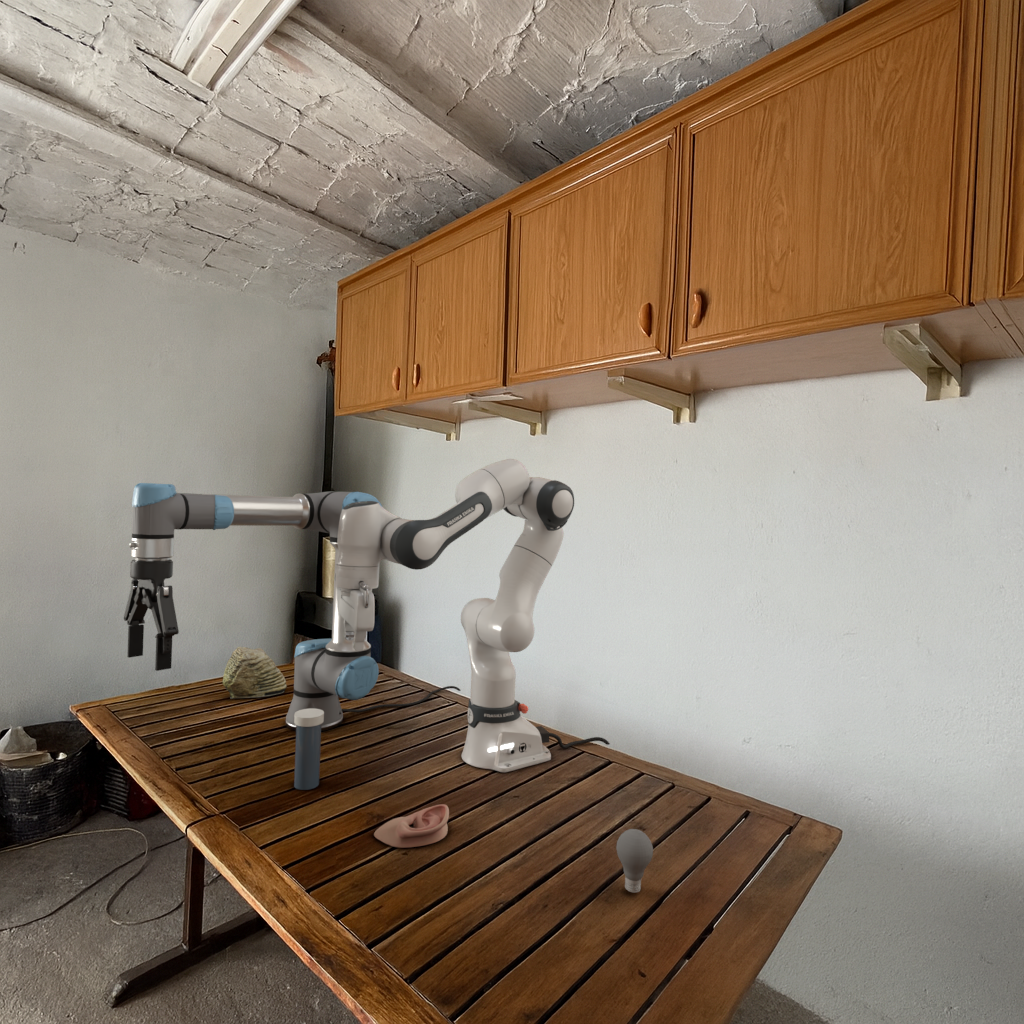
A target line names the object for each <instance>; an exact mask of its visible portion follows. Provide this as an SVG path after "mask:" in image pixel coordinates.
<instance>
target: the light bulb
mask: <svg viewBox="0 0 1024 1024" xmlns="http://www.w3.org/2000/svg"><path fill="white" fill-rule="evenodd" d="M615 849H616V854H617V857H618V859H619V861H620V863H621V865H622V867H623V873H624V874H623V875H624V876H625V878H624V888H625V890H627V891H628V892H630V893H634V894H635V893H639V892H640V891H641V889H642V887H641V886H642V879H643V877H644V875H645V871H646V868H647V867H648V866H649V864H650V863H651V861H652V859H653V855H654V847H653V843H652V841H651V838H649V836H648V835H647V834H646V833H645V832H643V831H642V830H641V829H636V828H629V829H627V830H625V831H623V832H622V833H621V834H620V835H619V837H618V839H617V841H616V847H615Z"/></svg>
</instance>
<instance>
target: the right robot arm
mask: <svg viewBox="0 0 1024 1024" xmlns="http://www.w3.org/2000/svg"><path fill="white" fill-rule="evenodd" d="M454 497H455V502H456V503H455V504H453V505H452V506H450V507H449V508H447V509H446V510H444V511H442V512H441V513H440V514H438V515H436V516H435V517H433V518H429V519H407V518H401V517H400V516H399V515H396V514H393V513H392V512H390V511H389V510H387V509H385V508H384V507H383V505H382V506H380V504H379V503H378V502H375V501H365V502H364V501H362V502H355V503H350V504H348V505H346V506H345V507H344V508H343V510H342V512H341V515H340V520H339V527H338V539H337V544H338V549H339V554H338V558H337V561H336V573H335V572H334V573H335V586H336V587H337V605H338V612H339V615H340V616H341V617H342V618H343V619H344V628H345V639H346V640H353V639H354V630H355V640H354V645H353V648H354V649H355V650H356V651H361V650H363V649H364V640H365V639H366V637H367V632H373V630H374V628H375V611H376V610H375V608H376V606H375V602H376V601H375V596H374V593H373V589H377V588H379V582H380V565H381V564H380V563H381V561H383V560H385V561H388V562H391V563H394V564H398V565H401V566H404V567H405V568H408V569H411V570H423V569H426V568H428V567H430V566H432V565H433V564H434V563H435V562H436V561H437V560H438V559H439V558H440V556H441V555H442V553H443V552H444V551H445V549H446V548H447V547H448V546H450V545H451V544H452V543H453V542H455V541H456V540H458V539H459V538H460V537H462V536H463V535H465V534H466V533H468V532H469V531H471V530H473V529H474V528H475V527H476V526H478V525H479V524H481V523H482V522H484V521H485V520H486V519H488V518H489V517H491V516H493V515H495V514H496V513H499V512H500V511H502V510H504V512H506V513H507V514H508V515H511V516H513V517H516V518H517V517H518V518H520V519H523V520H524V524H523V525H524V526H523V530H522V532H521V533H520V535H519V537H518V538H517V540H516V541H515V543H514V544H513V547H512V549H511V550H510V552H509V554H508V556H507V557H506V559H505V561H504V562H503V564H502V567H501V568H500V570H499V572H498V573H499V575H498V577H499V587H498V591H497V595H496V597H495V599H494V598H490V597H479V598H473V599H471V600H470V601H468V602H466V604H465V605H464V607H463V608H462V610H461V613H460V623H461V626H462V628H463V630H464V633H465V637H466V642H467V648H468V656H469V662H470V698H469V700H468V704H467V705H468V706H467V725H468V726H467V732H466V738H465V742H464V746H463V749H462V751H461V755H460V757H461V759H462V761H463V762H464V763H466V764H468V765H470V766H472V767H476V768H478V769H479V768H480V769H484V770H485V769H486V770H492V771H496V772H500V773H509V772H512V771H516V770H520V769H523V768H527V767H531V766H534V765H535V766H536V765H538V764H542V763H545V762H549V761H551V760H552V754H551V751H550V750H549V748H548V747H547V746H545V745H544V744H546V743H550V738H554V739H555V740H556V741H557V743H558V745H559V747H560V748H561V749H562V750H563V749H564V750H566V749H568V748H570V747H573V746H577V745H584V744H588V743H592V742H602V743H604V745H606V746H608V745H610V742H609V741H608V740H607V739H605V738H604V737H599V736H595V737H590V738H589V737H588V738H585V739H580V740H575V741H574V740H573V741H571V742H568V743H566V744H563V741H562V738H561V737H560V736H559V735H558V734H556V733H554V732H550V731H548V730H547V729H545V728H544V727H543V726H542V725H539V726H535V725H534V724H533V723H531V722H530V721H529V720H528V719H526V717H524V716H522V715H521V713H522V714H524V715H525V714H527V713H528V712H529V710H530V709H529V707H528V705H526V704H525V703H521V702H520V701H518V700H516V680H517V679H516V677H517V674H516V673H517V672H516V668H515V665H514V663H513V661H512V657H511V655H510V653H520V652H523V651H524V650H526V649H527V648H528V647H529V646H530V645H531V643H532V641H533V638H534V636H535V624H534V618H533V617H534V610H535V605H536V601H537V598H538V595H539V592H540V590H541V588H542V587H543V585H544V582H545V581H546V578H547V576H548V574H549V573H550V571H551V569H552V567H553V565H554V563H555V561H556V559H557V556H558V554H559V552H560V550H561V549H560V548H561V546H562V544H563V540H564V536H565V533H564V529H563V527H564V526H565V525H566V524H567V523H568V521H569V519H570V517H571V515H572V513H573V511H574V507H575V495H574V491H573V490H572V488H571V487H570V486H568V484H566V483H564V482H562V481H559V480H556V479H554V480H552V479H550V478H546V477H541V476H530V473H529V471H528V469H527V468H526V466H525V465H524V463H522V462H521V461H520V460H518V459H515V458H506V459H502V460H497V461H495V462H493V463H490V464H487V465H485V466H483V467H481V468H479V469H477V470H475V471H473V472H472V473H470V474H468V475H466V476H465V477H464V478H462V479H461V481H459V482H458V483H457V485H456V488H455V494H454Z"/></svg>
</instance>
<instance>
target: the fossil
mask: <svg viewBox="0 0 1024 1024" xmlns="http://www.w3.org/2000/svg"><path fill="white" fill-rule="evenodd" d="M222 676H223V677H222V685H223V687H224V688H225V690H226V691H228V693H229V698H230V699H250V698H264V697H271V696H275V695H281V694H284V693H285V691H286V689H287V687H288V686H287V680H286V678H285V676H284V674H283V673H282V672H281V669H279V668H278V667H277V665H276V663H275V662H274V660H273V659H272V658H271V657H270V656H269V655H268V654H267V653H266V652H265V650H264V649H263V648H260V647H258V648H251V647H247V646H246V647H245V646H238V647H237V648H236V649H235V650H233V651H232V653H231V656H230V657H229V659H228V660H227V663H226V666H225V668H224V671H223V675H222Z"/></svg>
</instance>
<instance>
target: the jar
mask: <svg viewBox="0 0 1024 1024" xmlns="http://www.w3.org/2000/svg"><path fill="white" fill-rule="evenodd" d="M321 745H322V731H321V724H320V725H317V726H311V727H301V726H297V725H296V731H295V748H294V749H295V751H294V773H293V774H294V776H293V777H294V778H293V788H295V789H296V790H299V791H300V790H301V791H308V790H313V789H315V788H317V787H319V785H320V777H321V776H320V774H321V773H320V772H321V749H322V748H321V747H322V746H321Z"/></svg>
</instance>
